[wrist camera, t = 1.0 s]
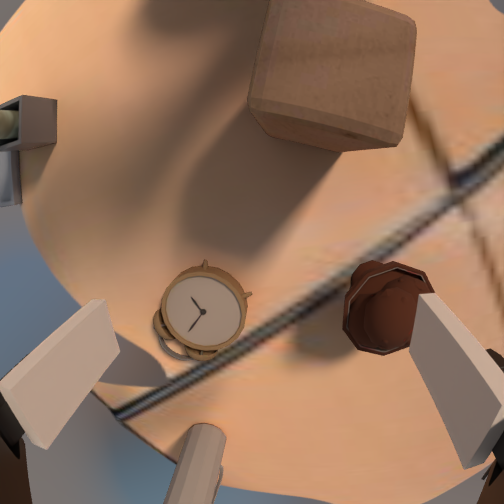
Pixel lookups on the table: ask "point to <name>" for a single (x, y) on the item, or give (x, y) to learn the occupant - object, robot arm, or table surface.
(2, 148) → the pot
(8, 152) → the tray
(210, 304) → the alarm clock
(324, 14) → the wooden block
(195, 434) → the water bottle
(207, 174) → the table surface
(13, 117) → the dowel
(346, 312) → the ice cream bowl
